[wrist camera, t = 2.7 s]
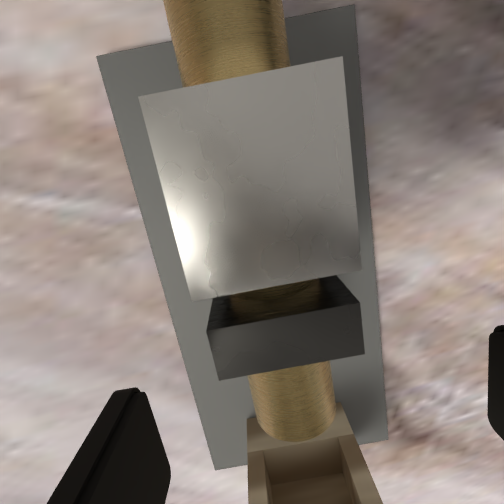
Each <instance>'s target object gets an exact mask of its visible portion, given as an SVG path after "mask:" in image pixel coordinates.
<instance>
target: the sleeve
mask: <svg viewBox="0 0 504 504" xmlns="http://www.w3.org/2000/svg"><path fill="white" fill-rule="evenodd" d="M138 98H139V102H140V106H141V109H142V113H143V117H144V121H145V125H146V128H147V132H148V136H149V140H150V144H151V147H152V151H153V155H154V159H155V163H156V167H157V170H158V174H159V178H160V182H161V186H162V189H163V193H164V197H165V201H166V205H167V208H168V212H169V216H170V220H171V224H172V227H173V231H174V235H175V239H176V243H177V247H178V250H179V254H180V258H181V262H182V266H183V269H184V273H185V277H186V281H187V285H188V288H189V292H190V296H191V300H192V302H193V301H199V300H204V299H209V298H215V297H220V296H226V295H231V294H236V293H242V292H247V291H252V290H258V289H263V288H268V287H274V286H279V285H285V284H290V283H295V282H301V281H306V280H311V279H317V278H322V277H327V276H333V275H338V274H344V273H349V272H354V271H360V270H362V264H361V253H360V242H359V231H358V220H357V209H356V198H355V187H354V176H353V165H352V154H351V143H350V132H349V121H348V110H347V98H346V87H345V76H344V65H343V56H341V57H336V58H331V59H326V60H321V61H316V62H310V63H305V64H300V65H295V66H290V67H285V68H280V69H275V70H270V71H265V72H260V73H255V74H250V75H245V76H240V77H235V78H230V79H225V80H220V81H214V82H209V83H204V84H199V85H194V86H189V87H184V88H179V89H174V90H169V91H164V92H159V93H154V94H149V95H144V96H139V97H138Z"/></svg>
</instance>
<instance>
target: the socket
mask: <svg viewBox="0 0 504 504" xmlns="http://www.w3.org/2000/svg"><path fill="white" fill-rule="evenodd" d="M247 459H248V501H249V504H383V503H382V500H381V498H380V495H379V493H378V491H377V488H376V486H375V483H374V481H373V479H372V476H371V474H370V472H369V469H368V467H367V464H366V462H365V460H364V457H363V455H362V452H361V450H360V448H359V445H358V443H357V441H356V438H355V436H354V433H353V431H352V429H351V426H350V424H349V421H348V419H347V417H346V414H345V412H344V409H343V407H342V405H341V402H338V403H336V414H335V418H334V420H333V422H332V424H331V425H330V426H329V428H328V429H327V430H326V431H324V432H323V433H322V434H320V435H319V436H317V437H315V438H312V439H310V440H306V441H301V442H287V441H282V440H278V439H276V438H274V437H272V436H270V435H269V434H267V433H266V432H265V431H264V430H263V429H262V428H261V426H260V425H259V423H258V420H257V417H255V418H249V419H247Z"/></svg>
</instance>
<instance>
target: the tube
mask: <svg viewBox="0 0 504 504" xmlns="http://www.w3.org/2000/svg"><path fill="white" fill-rule="evenodd" d="M163 2H164V6H165V11H166V15H167V20H168V24H169V28H170V33H171V37H172V42H173V46H174V51H175V55H176V60H177V64H178V69H179V73H180V78H181V82H182V87H183V88H184V87H189V86H194V85H199V84H204V83H209V82H214V81H220V80H225V79H230V78H235V77H240V76H245V75H250V74H255V73H260V72H265V71H270V70H275V69H280V68H285V67H290V66H291V65H290V58H289V50H288V43H287V35H286V28H285V20H284V13H283V5H282V0H163ZM206 333H207V336H208V340H209V344H210V348H211V352H212V356H213V360H214V364H215V368H216V372H217V376H218V379H219V381H221V380H226V379H232V378H237V377H243V376H247V377H248V381H249V386H250V390H251V395H252V399H253V404H254V408H255V412H256V417H257V420H258V423H259V425H260V426H261V428H262V429H263V430H264V431H265V432H266V433H267V434H269V435H270V436H272V437H274V438H276V439H278V440H282V441H287V442H301V441H306V440H310V439H312V438H315V437H317V436H319V435H320V434H322V433H323V432H324V431H326V430H327V429H328V428H329V426H330V425H331V424H332V422H333V420H334V418H335V414H336V403H335V395H334V388H333V380H332V373H331V365H330V360H336V359H341V358H347V357H352V356H358V355H363V354H365V348H364V338H363V327H362V317H361V306H360V302H359V301H358V300H357V298H356V297H355V296H354V295H353V294H352V293H351V291H350V290H349V289H348V288H347V287H346V286H345V284H344V283H343V282H342V281H341V280H340V279H339V277H338V276H337V275H333V276H327V277H322V278H317V279H311V280H306V281H301V282H295V283H290V284H285V285H279V286H274V287H268V288H263V289H258V290H252V291H247V292H242V293H236V294H231V295H226V296H220V297H215V298H213V300H212V305H211V310H210V315H209V320H208V325H207V329H206Z"/></svg>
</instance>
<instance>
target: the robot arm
mask: <svg viewBox="0 0 504 504" xmlns="http://www.w3.org/2000/svg"><path fill="white" fill-rule="evenodd" d="M488 419H489V422H490V424H491V426H492V428H493V429H494V430H495V432H496V433H497V434H498V435H499V436H500V437H501V438H502V439H503V440H504V325H500V326H497V327H496V328H495V329H494V332H493V333H491V334H490V336H489V366H488ZM170 478H171V470H170V465H169V462H168V459H167V456H166V453H165V450H164V447H163V443H162V440H161V437H160V434H159V431H158V428H157V425H156V422H155V419H154V416H153V413H152V410H151V407H150V404H149V401H148V398H147V395H146V393H145V392H140V390H139V389H138V388H136V387H135V388H129V389H123V390H117V391H115V392H114V393H113V394H112V395H111V397H110V399H109V400H108V402H107V404H106V405H105V407H104V409H103V410H102V412H101V414H100V415H99V417H98V419H97V420H96V422H95V424H94V425H93V427H92V429H91V430H90V432H89V434H88V435H87V437H86V439H85V441H84V442H83V444H82V446H81V447H80V449H79V451H78V452H77V454H76V456H75V457H74V459H73V461H72V462H71V464H70V466H69V467H68V469H67V471H66V472H65V474H64V476H63V477H62V479H61V481H60V482H59V484H58V486H57V487H56V489H55V491H54V492H53V494H52V496H51V497H50V499H49V501H48V502H47V504H165V500H166V496H167V492H168V488H169V484H170Z"/></svg>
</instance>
